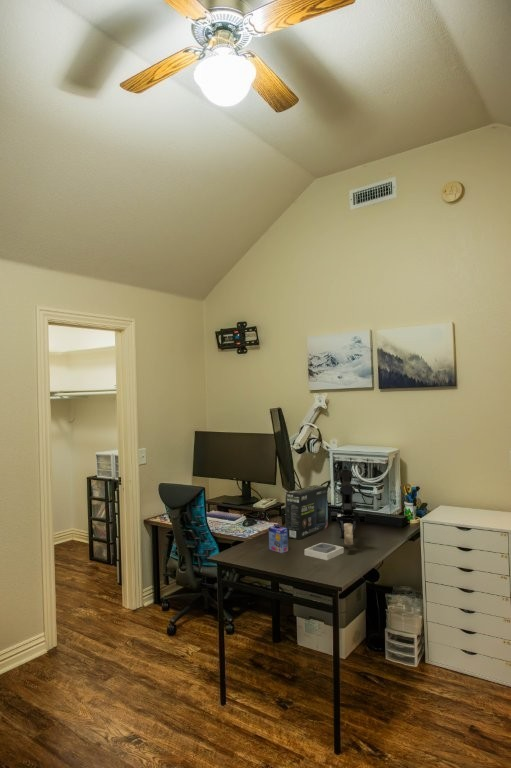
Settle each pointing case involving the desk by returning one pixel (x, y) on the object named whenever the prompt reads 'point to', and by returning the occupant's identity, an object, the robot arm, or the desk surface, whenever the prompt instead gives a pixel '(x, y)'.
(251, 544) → the desk surface
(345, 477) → the robot arm
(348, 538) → the beige domed cylinder
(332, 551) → the housing
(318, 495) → the router box
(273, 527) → the ink cartridge box
